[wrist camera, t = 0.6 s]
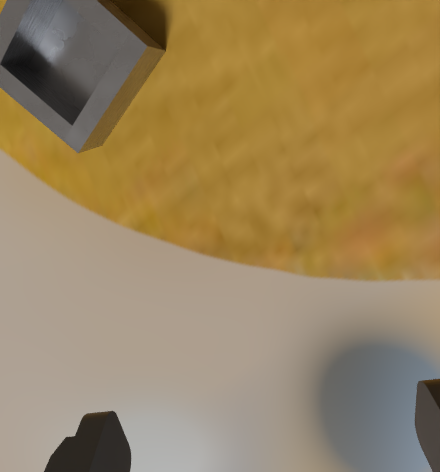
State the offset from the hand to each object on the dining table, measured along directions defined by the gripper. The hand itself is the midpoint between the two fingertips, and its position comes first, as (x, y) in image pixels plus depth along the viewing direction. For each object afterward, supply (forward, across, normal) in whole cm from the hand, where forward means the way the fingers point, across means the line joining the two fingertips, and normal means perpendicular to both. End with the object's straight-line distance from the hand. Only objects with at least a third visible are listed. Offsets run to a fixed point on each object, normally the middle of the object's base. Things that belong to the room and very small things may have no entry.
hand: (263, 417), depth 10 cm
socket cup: (+29, +12, -10) cm, 32 cm away
